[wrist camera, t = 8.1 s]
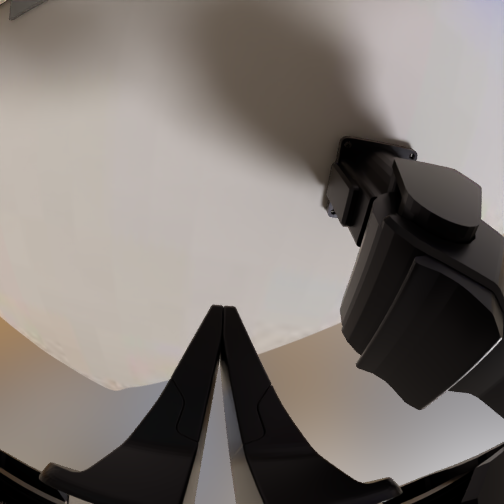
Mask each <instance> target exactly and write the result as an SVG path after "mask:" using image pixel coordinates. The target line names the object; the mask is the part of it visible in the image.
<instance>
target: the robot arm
mask: <svg viewBox="0 0 504 504" xmlns="http://www.w3.org/2000/svg"><path fill="white" fill-rule="evenodd" d="M347 141H349V145H348V146H345V142H347ZM410 154H412V157H410ZM416 160H417V153H416V151H414V150H413V149H410V148H406V147H402V146H397V145H393V144H388V143H383V142H378V141H372V140H367V139H361V138H355V137H349V136H345V137H342V138H341V139H340V142H339V148H338V154H337V159H336V162H335V163H334V164H333V165H332V168H331V173H330V178H329V184H328V189H327V197H328V199H329V200H328V205H327V213H328V215H329V216H330V217H333V218H338V219H339V221H340V223H341V224H342V226H343V227H348V228H349V230H350V232H351V234H352V236H353V238H354V241H355V243H356V245H357V246H358V247H360V250H359V253H358V256H357V259H356V262H355V265H354V268H353V271H352V274H351V277H350V280H349V283H348V286H347V288H346V291H345V294H344V297H343V300H342V304H341V308H340V314H341V321H342V326H343V327H342V333H343V335H344V336H345V338H346V340H347V342H348V343H349V344H350V345H351V346H352V347H353V348H354V350H355V351H356V352H357V353H359V354H360V355H361V357H360V358H359V360H358V361H357V363H356V367H357V368H359V369H362V370H365V371H367V372H371V373H373V374H375V375H376V376H378V377H380V378H381V379H383V380H384V381H386V382H387V383H388V384H389V385H390V386H391V387H392V388H393V389H394V390H395V392H396V393H397V394H398V395H399V396H400V397H401V398H402V399H403V400H404V402H406V403H407V404H409V405H410V406H412V407H414V408H416V409H418V410H422V409H424V408H425V407H427V406H428V405H430V404H431V403H432V402H434V401H435V400H436V399H438V398H439V397H440V396H441V395H443V394H444V393H445V392H446V391H454V392H463V393H469V394H472V395H474V396H476V397H478V398H479V399H480V400H482V401H483V402H484V403H485V404H487V405H488V406H489V407H490V408H492V409H493V410H494V411H495V412H496V413H498V414H499V415H500V416H501V417H502V418H504V237H503V236H502V235H501V234H499V233H498V232H497V231H496V230H494V229H493V228H492V227H491V226H489V225H488V224H487V223H485V222H484V221H483V220H481V202H482V188H481V186H479V185H478V184H477V183H475V182H474V181H472V180H471V179H469V178H468V177H466V176H465V175H463V174H462V173H460V172H459V171H457V170H455V169H452V168H448V167H443V166H439V165H434V164H429V163H424V162H419V161H416ZM333 209H334V212H331V210H333ZM219 361H220V368H221V381H222V392H223V401H224V412H225V421H226V430H227V439H228V447H229V455H230V461H231V462H230V463H231V471H232V477H233V485H234V491H235V498H236V504H504V442H502V443H501V444H499V445H497V446H495V447H493V448H491V449H489V450H487V451H485V452H483V453H481V454H479V455H477V456H475V457H472V458H470V459H467V460H465V461H463V462H460V463H458V464H455V465H453V466H450V467H448V468H445V469H442V470H439V471H436V472H434V473H431V474H429V475H426V476H424V477H421V478H418V479H416V480H414V481H411V482H409V483H406V484H404V485H401V486H398V484H397V483H396V482H395V481H393V479H392V478H390V477H387V478H382V479H378V480H374V481H370V482H365V483H361V482H358V481H356V480H354V479H353V478H351V477H350V476H348V475H346V474H345V473H344V472H342V471H341V470H340V469H338V468H336V467H335V466H334V465H332V464H331V463H329V462H328V461H327V460H326V459H324V458H323V457H322V456H320V455H319V454H318V453H317V452H316V451H315V450H314V449H313V448H312V447H311V446H310V444H309V443H308V442H307V440H306V439H305V437H304V436H303V435H302V433H301V432H300V430H299V429H298V428H297V426H296V425H295V423H294V422H293V420H292V419H291V418H290V416H289V414H288V413H287V411H286V410H285V408H284V407H283V405H282V403H281V401H280V399H279V398H278V396H277V394H276V392H275V390H274V388H273V386H272V385H271V382H270V380H269V378H268V376H267V374H266V372H265V370H264V367H263V365H262V363H261V361H260V359H259V357H258V355H257V353H256V350H255V348H254V346H253V344H252V342H251V340H250V338H249V335H248V333H247V331H246V329H245V327H244V325H243V322H242V320H241V318H240V316H239V314H238V311H237V309H236V308H235V307H234V306H224V308H223V306H222V305H212V306H211V307H210V309H209V311H208V313H207V314H206V316H205V318H204V320H203V321H202V323H201V325H200V327H199V328H198V330H197V332H196V334H195V336H194V337H193V339H192V341H191V343H190V344H189V346H188V348H187V350H186V351H185V353H184V355H183V357H182V359H181V360H180V362H179V364H178V366H177V367H176V369H175V371H174V373H173V375H172V376H171V379H170V380H169V381H168V383H167V385H166V387H165V389H164V390H163V392H162V393H161V395H160V397H159V398H158V400H157V401H156V403H155V404H154V405H153V407H152V408H151V410H150V411H149V412H148V413H147V415H146V416H145V417H144V419H143V420H142V421H141V423H140V424H139V425H138V426H137V428H136V429H135V430H134V432H133V433H132V434H131V435H130V436H129V438H128V439H127V440H126V441H125V442H124V443H123V444H122V445H120V446H119V447H118V448H116V449H115V450H114V451H113V452H111V453H110V454H108V455H107V456H105V457H104V458H103V459H101V460H100V461H98V462H97V463H96V464H94V465H93V466H91V467H90V468H88V469H87V470H84V471H81V472H80V471H77V470H73V469H71V468H67V467H64V466H61V465H58V464H55V463H49V464H48V465H47V466H46V467H45V469H44V470H43V471H42V472H41V471H39V470H37V469H35V468H33V467H31V466H29V465H27V464H26V463H24V462H22V461H20V460H18V459H17V458H15V457H13V456H11V455H10V454H8V453H6V452H4V451H2V450H0V504H194V502H195V496H196V490H197V484H198V479H199V473H200V467H201V461H202V455H203V449H204V444H205V438H206V433H207V427H208V421H209V416H210V410H211V404H212V400H213V394H214V388H215V383H216V378H217V372H218V367H219Z"/></svg>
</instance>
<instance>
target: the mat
mask: <svg viewBox="0 0 504 504" xmlns="http://www.w3.org/2000/svg"><path fill="white" fill-rule="evenodd" d="M45 1H47V0H11V6H10V16H9V20H13V19H15V18H16V17H18V16H20V15H21V14H23V13H25V12H26V11H28V10H30V9H32V8H33V7H35V6H37V5H39V4H41V3H43V2H45Z"/></svg>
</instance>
